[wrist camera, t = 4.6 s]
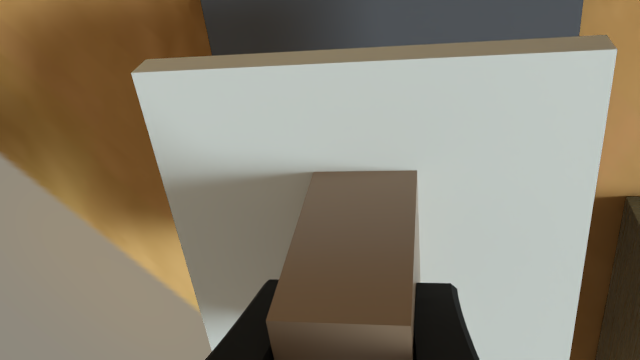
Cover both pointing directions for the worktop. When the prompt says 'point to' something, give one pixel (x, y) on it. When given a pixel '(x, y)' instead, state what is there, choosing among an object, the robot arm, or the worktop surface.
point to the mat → (380, 23)
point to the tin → (624, 292)
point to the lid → (385, 188)
